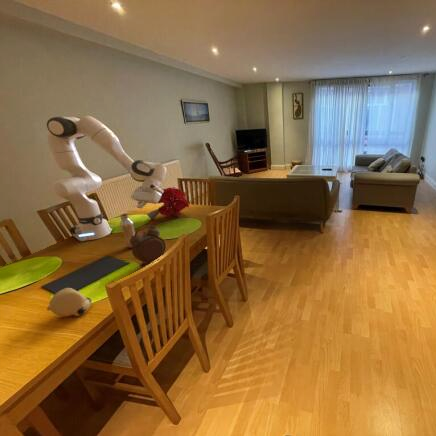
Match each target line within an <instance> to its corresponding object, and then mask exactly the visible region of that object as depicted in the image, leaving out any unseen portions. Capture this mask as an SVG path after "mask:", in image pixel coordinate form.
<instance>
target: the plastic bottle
mask: <svg viewBox="0 0 436 436" xmlns="http://www.w3.org/2000/svg"><path fill="white" fill-rule="evenodd" d="M119 217H120V219H121V220H120V222H119V227H120V229H121V230H122V233H123V235H124V239H125V245H126V247H127V248H128V249H132V245H131V243H130V239H131V236H134V235H135V232H136V230H135V225H134V221H133V220H132V219H130V217H129V214H128V213H124V214H120V215H119Z"/></svg>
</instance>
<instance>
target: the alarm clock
mask: <svg viewBox="0 0 436 436" xmlns="http://www.w3.org/2000/svg"><path fill="white" fill-rule="evenodd" d="M146 228H149V229H148V230H147V231H146V232H142V235H140V234H138V232H139V231H141V230H143V229H146ZM160 233H161V232H160V230H159V229H158V228H156V226H154V227H153V226H152V225H144V226H142V227H139V228H137V230H135V235H134V236H131V239H130V243H131V245H132V248H131V253H132V256H133V257H134V258H135V259H137V260H138V261H140V262H141V264H142V266H143V265H144V264H145V263H146V265H147V264H148V265H149V264H151V262H152V261H154V260H155V259H157V258H158V257H160V256H161V255H162V256H164V254H165V252H166V242H165V240H164V239H163V238H162V237H160V236H161V234H160ZM152 263H153V262H152Z"/></svg>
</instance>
